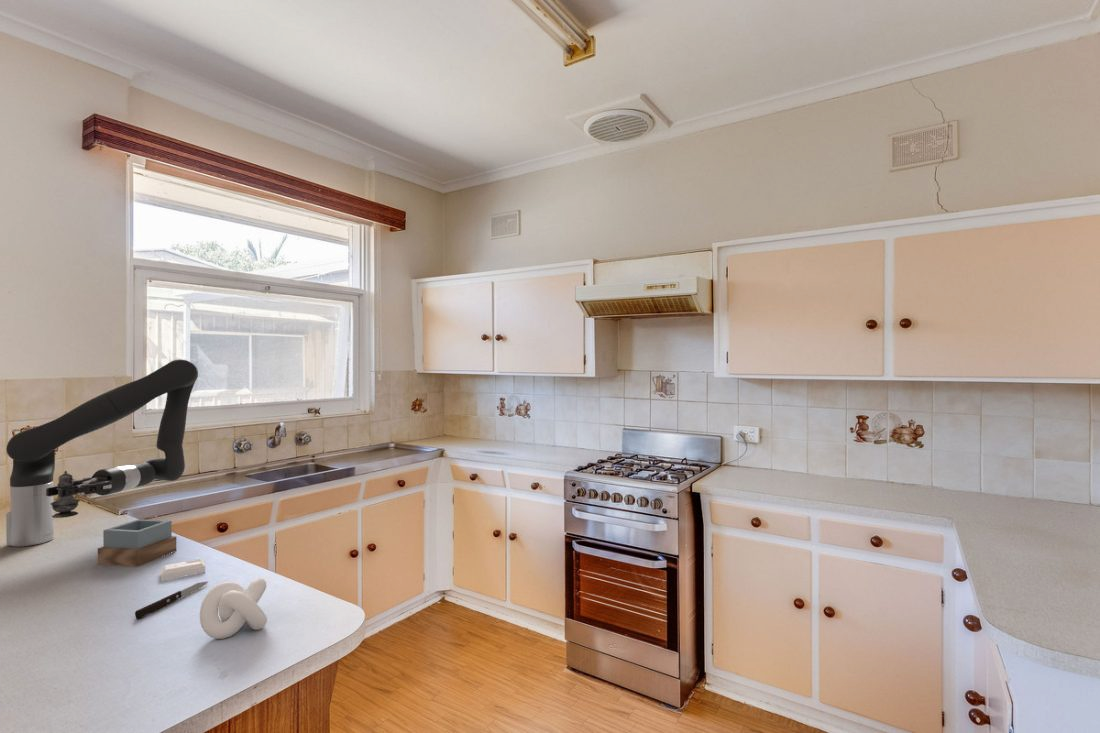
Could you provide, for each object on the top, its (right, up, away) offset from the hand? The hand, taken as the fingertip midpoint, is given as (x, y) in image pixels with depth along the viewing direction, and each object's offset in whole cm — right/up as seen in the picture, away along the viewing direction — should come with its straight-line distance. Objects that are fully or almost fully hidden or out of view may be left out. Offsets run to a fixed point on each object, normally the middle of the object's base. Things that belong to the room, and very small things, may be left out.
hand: (54, 492), depth 142 cm
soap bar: (+39, -19, -7) cm, 44 cm away
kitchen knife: (+48, -19, -23) cm, 57 cm away
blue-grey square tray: (+19, -14, +4) cm, 24 cm away
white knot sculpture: (+70, -19, -36) cm, 80 cm away
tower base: (+19, -19, +4) cm, 27 cm away
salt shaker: (0, -7, +3) cm, 7 cm away
